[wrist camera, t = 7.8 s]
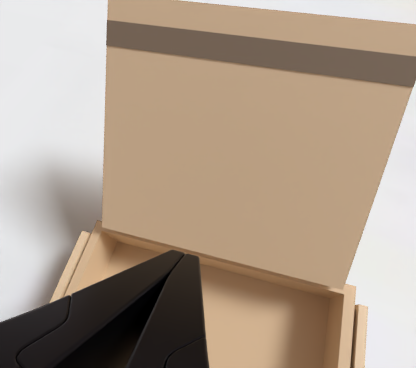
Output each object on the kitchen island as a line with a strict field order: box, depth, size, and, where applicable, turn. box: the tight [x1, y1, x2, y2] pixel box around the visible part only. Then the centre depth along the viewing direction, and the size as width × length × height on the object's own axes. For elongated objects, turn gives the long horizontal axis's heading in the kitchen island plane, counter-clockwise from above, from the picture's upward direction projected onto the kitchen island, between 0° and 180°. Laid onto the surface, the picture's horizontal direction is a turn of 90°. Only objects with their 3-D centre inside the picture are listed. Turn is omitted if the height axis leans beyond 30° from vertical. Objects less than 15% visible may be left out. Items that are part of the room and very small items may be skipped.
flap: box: [102, 0, 416, 290], centre depth 14 cm, size 1×12×11 cm
